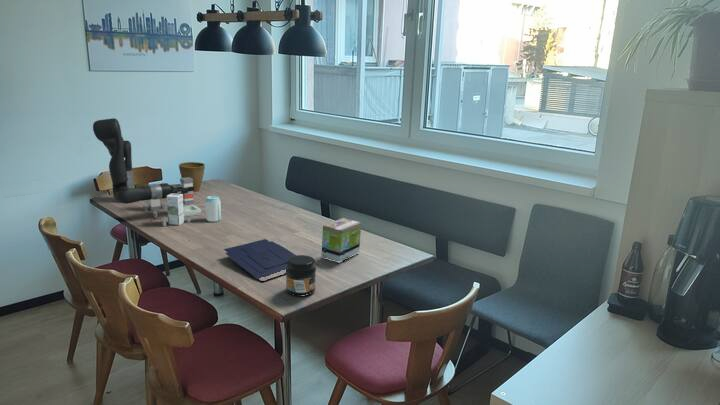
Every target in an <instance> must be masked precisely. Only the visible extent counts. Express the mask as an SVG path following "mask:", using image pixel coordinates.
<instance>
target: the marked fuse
mask: <svg viewBox="0 0 720 405" xmlns="http://www.w3.org/2000/svg"><path fill="white" fill-rule="evenodd" d="M179 181H180V185H181V186H182V187H193V179H192V178H190V177H187V178H181V177H180V178H179ZM184 191H185V190H184ZM194 200H195V199H194V192H193V191H189V192H188V193H186V194H183V206H189V205H194V203H195V202H194Z"/></svg>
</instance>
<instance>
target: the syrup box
mask: <svg viewBox="0 0 720 405" xmlns="http://www.w3.org/2000/svg"><path fill="white" fill-rule="evenodd" d="M183 206H184V204H183V194H173V193H171V194H169V195H168V196H167V198H166V208H167V209H166V210H167V224H168V225H170V226H180V225H182V224H183V223H184V222H185V217H184V213H183Z"/></svg>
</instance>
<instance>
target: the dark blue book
mask: <svg viewBox="0 0 720 405" xmlns="http://www.w3.org/2000/svg"><path fill="white" fill-rule="evenodd" d="M223 251H225V254H226V255H227V256H228V258H229V259H230V260H232V261H233V262H234V263H236V264H237V265H239V266H240V267H241V268H243V269H244V270H245V271H246V272H248V273H249V274H250V275H251V276H253V277H254V278H255V279H256V280H258V279H259V278H261V277H266V276H269V275H271V274H274V273H277V272H280V271H281V270H285V269H286V268H287V266H288V259H289V258H290V257H292V256H296V253H293V251H290V250H288V248H286V247H284V246H282V245H281V244H278V243H277V242H274V241H272V240H271V241H269V240H268V239H266V238H264V239H260V240H256V241H255V240H254V241H252V242H247V243H244V244H240V245H235V246H231V247H227V248H224V249H223Z"/></svg>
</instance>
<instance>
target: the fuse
mask: <svg viewBox="0 0 720 405" xmlns="http://www.w3.org/2000/svg"><path fill="white" fill-rule="evenodd" d="M153 184H154V183H151V184H146V186H148V185H153ZM160 201H161V199H156V200H147V207H148V211H151V212H156V211H161V205H160V203H161V202H160Z"/></svg>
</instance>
